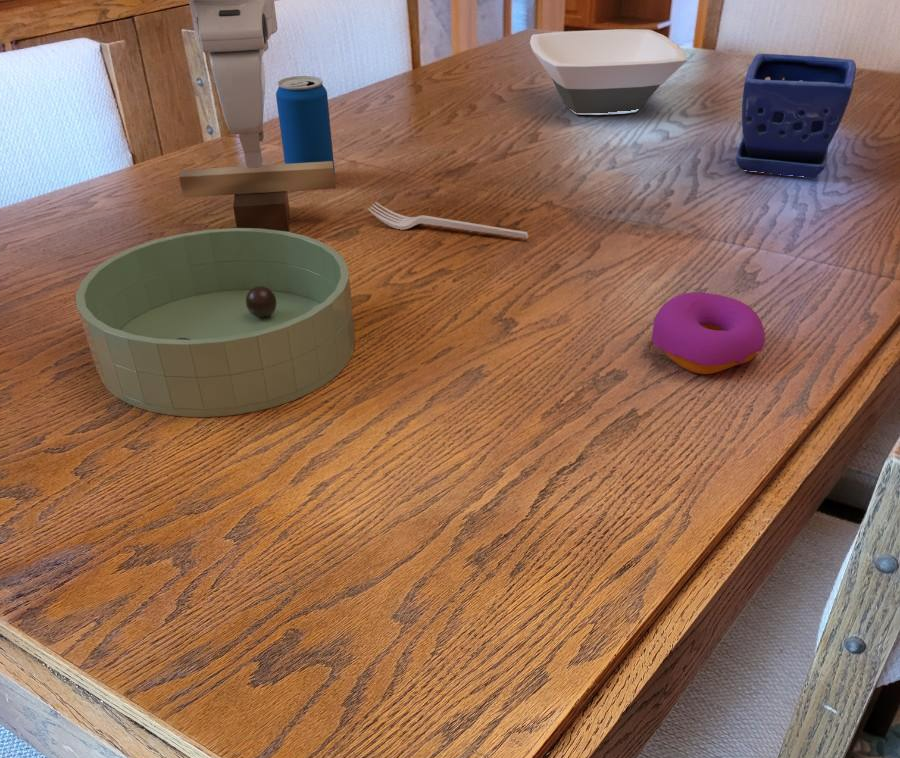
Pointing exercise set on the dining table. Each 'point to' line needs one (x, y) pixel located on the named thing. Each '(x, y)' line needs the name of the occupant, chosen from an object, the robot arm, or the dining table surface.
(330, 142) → the beverage can
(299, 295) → the green round basin
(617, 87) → the bowl
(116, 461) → the dining table surface
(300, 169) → the stirring stick
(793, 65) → the flower pot
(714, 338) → the donut
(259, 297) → the bead
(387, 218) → the fork
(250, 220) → the block
